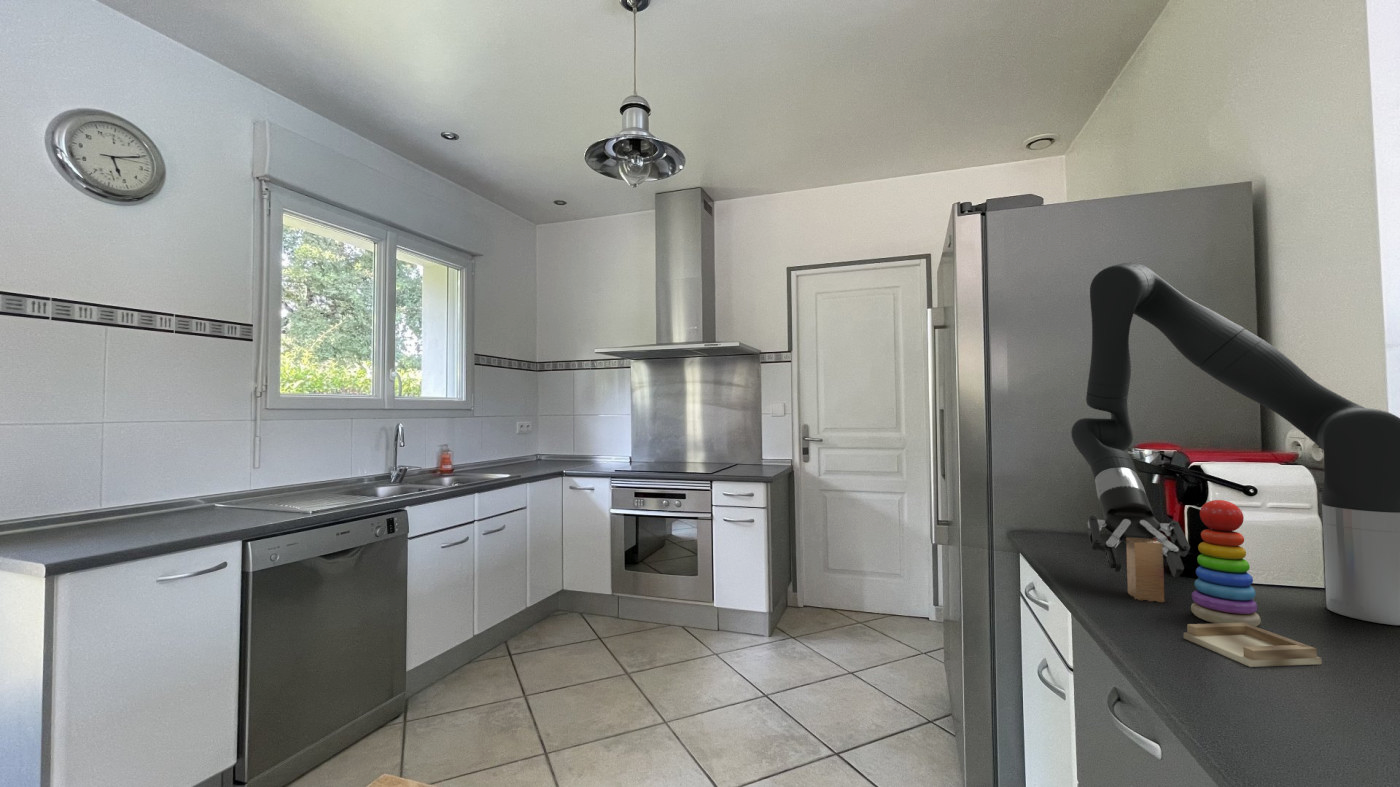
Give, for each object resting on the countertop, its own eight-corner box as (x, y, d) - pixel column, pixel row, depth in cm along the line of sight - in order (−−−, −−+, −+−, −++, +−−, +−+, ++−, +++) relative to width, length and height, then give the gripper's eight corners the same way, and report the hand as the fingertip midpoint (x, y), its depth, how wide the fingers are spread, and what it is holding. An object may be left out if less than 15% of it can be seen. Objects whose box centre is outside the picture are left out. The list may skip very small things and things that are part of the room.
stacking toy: (1275, 632, 82) (1271, 505, 83) (1213, 628, 84) (1209, 503, 84) (1235, 613, 90) (1231, 497, 90) (1179, 609, 91) (1175, 496, 92)
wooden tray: (1247, 636, 80) (1247, 622, 80) (1321, 664, 71) (1321, 648, 71) (1183, 638, 80) (1183, 624, 80) (1250, 666, 71) (1249, 651, 71)
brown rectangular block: (1127, 592, 100) (1126, 537, 100) (1154, 595, 98) (1153, 539, 99) (1136, 599, 96) (1134, 542, 97) (1164, 602, 95) (1162, 544, 95)
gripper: (1082, 483, 108) (1103, 556, 97) (1173, 486, 103) (1205, 564, 91) (1075, 506, 112) (1094, 578, 101) (1161, 510, 107) (1191, 587, 96)
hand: (1147, 571), depth 96 cm, fingers open, 8 cm apart
